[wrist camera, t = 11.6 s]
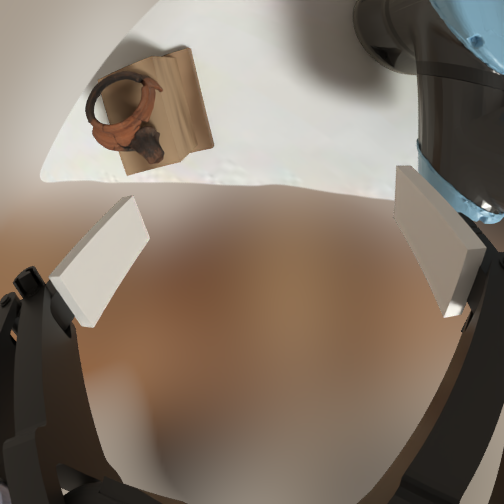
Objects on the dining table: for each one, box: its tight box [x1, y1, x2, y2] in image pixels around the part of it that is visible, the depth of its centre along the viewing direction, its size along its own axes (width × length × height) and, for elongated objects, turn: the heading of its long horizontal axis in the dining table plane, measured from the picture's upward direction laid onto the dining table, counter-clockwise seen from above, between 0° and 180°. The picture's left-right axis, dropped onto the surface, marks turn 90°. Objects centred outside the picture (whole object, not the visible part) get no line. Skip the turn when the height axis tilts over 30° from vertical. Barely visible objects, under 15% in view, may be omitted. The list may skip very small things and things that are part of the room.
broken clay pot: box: [85, 71, 164, 164], centre depth 27 cm, size 12×10×8 cm
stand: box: [98, 48, 214, 176], centre depth 33 cm, size 12×16×10 cm
